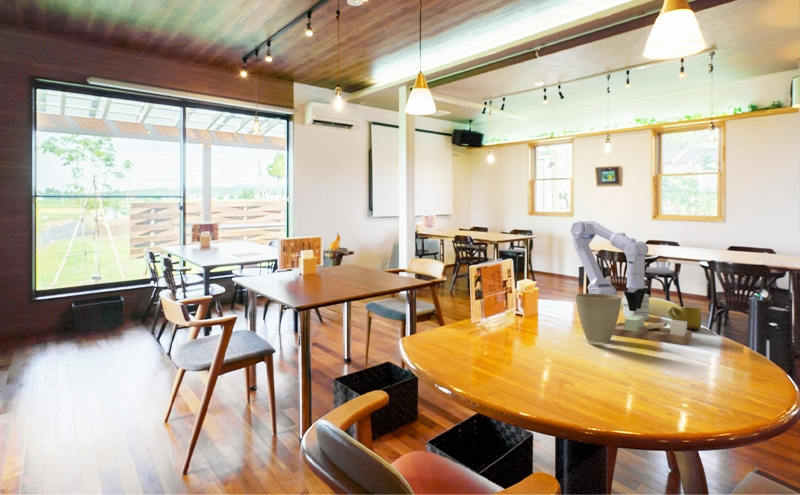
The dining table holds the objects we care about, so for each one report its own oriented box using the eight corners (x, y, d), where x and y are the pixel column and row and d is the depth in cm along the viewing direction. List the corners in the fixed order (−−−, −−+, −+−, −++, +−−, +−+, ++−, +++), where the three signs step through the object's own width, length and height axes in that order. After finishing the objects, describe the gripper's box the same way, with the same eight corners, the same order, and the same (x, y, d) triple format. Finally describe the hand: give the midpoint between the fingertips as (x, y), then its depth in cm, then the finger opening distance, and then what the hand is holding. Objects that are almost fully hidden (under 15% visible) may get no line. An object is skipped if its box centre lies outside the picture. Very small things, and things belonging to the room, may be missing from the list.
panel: (610, 334, 162) (610, 323, 162) (619, 328, 173) (619, 318, 173) (686, 344, 147) (686, 332, 146) (691, 337, 157) (691, 326, 157)
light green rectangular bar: (624, 329, 159) (625, 319, 159) (632, 324, 168) (632, 314, 168) (636, 331, 156) (637, 320, 156) (644, 326, 165) (644, 315, 165)
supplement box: (622, 321, 188) (622, 292, 188) (637, 321, 189) (638, 292, 189) (633, 324, 181) (633, 294, 181) (649, 324, 182) (649, 294, 182)
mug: (692, 328, 173) (692, 304, 173) (707, 334, 163) (708, 308, 163) (660, 328, 175) (660, 303, 174) (673, 333, 164) (674, 307, 164)
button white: (670, 334, 151) (670, 323, 151) (673, 330, 157) (673, 319, 157) (683, 336, 149) (683, 324, 149) (686, 332, 155) (687, 321, 155)
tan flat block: (646, 329, 158) (645, 326, 158) (649, 326, 162) (648, 324, 162) (664, 327, 154) (664, 324, 155) (667, 324, 158) (666, 322, 158)
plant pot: (620, 338, 156) (620, 294, 156) (622, 347, 143) (622, 299, 142) (575, 334, 162) (576, 292, 162) (573, 342, 149) (574, 297, 148)
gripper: (643, 275, 154) (643, 313, 154) (651, 273, 165) (651, 308, 165) (621, 274, 158) (621, 311, 158) (631, 272, 169) (630, 306, 170)
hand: (635, 309), depth 162 cm, fingers open, 7 cm apart
